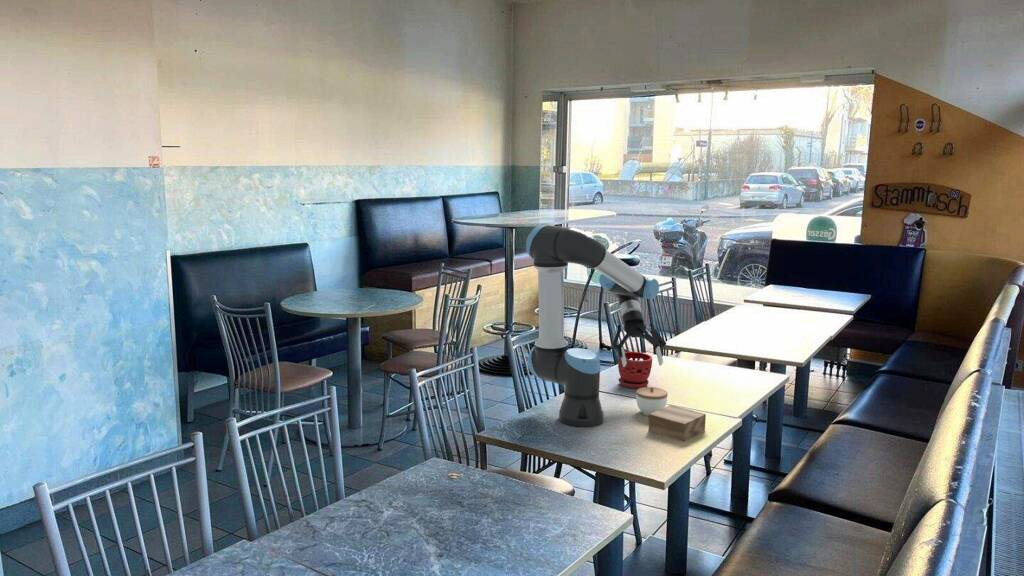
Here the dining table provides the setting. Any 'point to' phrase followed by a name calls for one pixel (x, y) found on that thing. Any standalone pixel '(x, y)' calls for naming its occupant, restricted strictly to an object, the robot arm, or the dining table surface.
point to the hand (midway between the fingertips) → (643, 364)
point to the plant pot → (635, 370)
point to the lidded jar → (651, 399)
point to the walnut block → (677, 422)
